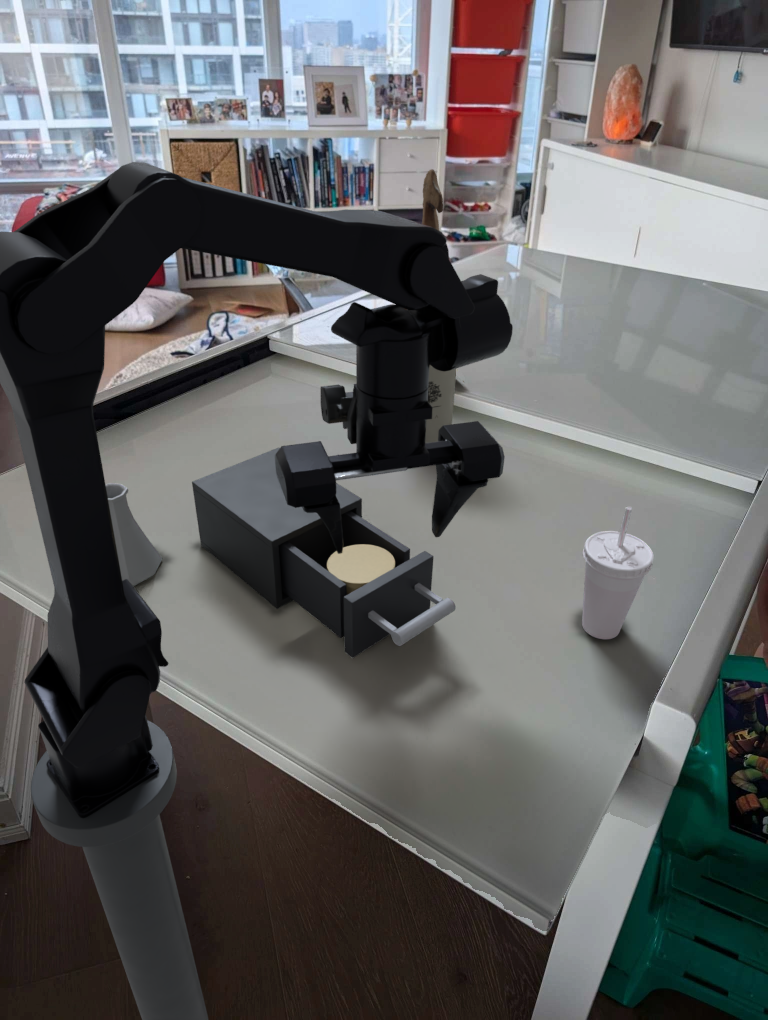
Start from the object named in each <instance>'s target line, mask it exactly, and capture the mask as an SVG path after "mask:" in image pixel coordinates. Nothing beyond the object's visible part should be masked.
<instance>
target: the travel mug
mask: <svg viewBox="0 0 768 1020" xmlns="http://www.w3.org/2000/svg"><path fill="white" fill-rule="evenodd" d="M456 369H457V368H456ZM456 369H453V370H450V371H445V372H444V371H439V370H436V369H435V368H433V367H432V366H431V365H430V366H429V384H428V402H429V404H430V405H431V406H432V407H433V409H432V419H428V420H426V438H425V443H430V442H437V441H438V432H439V429H440V428H441V427H442V426H443V425H450V424H453V419H454V418H453V417H454V404H455V391H456V378H457V377H456Z"/></svg>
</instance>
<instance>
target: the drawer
mask: <svg viewBox="0 0 768 1020" xmlns="http://www.w3.org/2000/svg"><path fill="white" fill-rule="evenodd" d="M341 521H342V532H343V548H344V547H347V546H351V545H358V544H368V545H374V546H378V547H381V548H383V549H385V550H387V551H388V552H390V553H391V554H392V556H393V557H394V559H395V568H394V569H392V570H390V571H388V572H386V573H385V574H383V575H381V576H379V577H378V578H376V579H374V580H372V581H371V582H369V583H367V584H365V585H364V586H362V587H360V588H358V589H356V590H355V591H353V592H351V593H349V594H348V595H346V584H345V583H344V582H342V581H341V580H340V579H338V578H337V577H336V576H334V575H333V574H332V573H330V572H329V571H328V570H327V561H328V559H329V557H330V556H331V555H332V554H333V553H334V552H336V551H337V550H336V548H335V545H334V543H333V541H332V538H331V536H330V533H329V531H328V528H327V527H326V525H325V524H324V523H323V524H321V525H319V526H317V527H315V528H313V529H311V530H309V531H307V532H305V533H302V534H300V535H298V536H296V537H294V538H292V539H290V540H288V541H286V542H284V543H282V544H280V545H279V557H280V571H281V585H282V592H284V593H285V594H286V595H287V596H289V597H290V598H291V599H292V600H293V602H295V604H296V603H297V605H298V606H299V607H301V608H302V609H303V610H305V611H306V612H307V613H308V614H309V615H311V616H312V617H313V618H314V619H316V620H317V621H318V622H319V623H320V624H322V625H323V626H324V627H326V628H327V629H328V630H329V631H330V632H332V633H333V634H334V635H335V636H337V637H338V638H339V639H343V648H344V649H343V650H344V653H345V654H346V655H348V657H350V658H351V659H354V658H355V657H357V656H358V655H360V654H362V653H363V652H365V651H367V650H368V649H370V648H371V647H372V646H374V645H376V644H378V643H379V642H381V641H382V640H384V639H385V638H387V637H389V636H391V640H392V642H393V643H394V644H395V645H396V646H399V647H402V646H403V645H404V644H406V643H407V642H409V641H411V640H412V639H413V638H415V637H416V636H418V635H420V634H421V633H423V632H424V631H426V630H427V629H429V628H430V627H432V626H434V625H435V624H437V623H438V622H440V621H441V620H442V619H445V618H446V617H448V616H449V615H450V614H452V613H453V612H455V611H456V608H457V607H456V604H455V601H454V600H453V599H452V598H450V597H445V598H442V597H441V596H440V595H437V594H436V593H435V592H434V591H432V586H433V585H432V584H433V572H434V571H433V570H434V555H433V554H431V553H429V552H428V551H426V550H423V551H422V552H420V553H418V554H417V555H415V556H413V557H411V548H409V547H408V546H407V545H405V544H403V543H402V542H400V541H399V540H397V539H396V538H394V537H393V536H391V535H389V534H388V533H386V532H384V531H383V530H381V528H379V527H377V526H375V525H374V524H372V523H371V522H369V521H367V520H366V519H364V518H363V517H362V518H361V517H360V516H358V515H357V514H355V513H353V512H352V511H348V512H346V513H344V514H342V515H341ZM431 602H432V603H433V604H434V605H433V606H431Z"/></svg>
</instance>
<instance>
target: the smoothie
mask: <svg viewBox="0 0 768 1020" xmlns="http://www.w3.org/2000/svg"><path fill="white" fill-rule="evenodd" d="M632 510H633V508H632V506H626V507H625V508H624V512H623V513H624V514H623V517H622V522H621V525H620V529H619V531H617V530H604V531H603V530H602V531H598V532H595V533H593V534H592V535H590V536H588V538H587V539H586V540H585V542H584V547H583V549H582V557H583V559H584V561H585V564H584V581H583V585H584V587H583V600H582V601H583V602H582V617H581V619H582V620H581V626H582V628H583V630H584V632H586V633H587V635H590V636H591V637H593V638H596V639H600V640H611V639H614V638H616V637H617V636H618V635H619V634H620V632H621V630H622V627H623V625H624V623H625V621H626V619H627V616H628V614H629V612H630V609H631V607H632V605H633V602H634V600H635V598H636V596H637V593H638V592H639V589H640V586H641V585H642V584H643V583H642V582H643V580H644V578H645V576H647V574H648V573H649V572H650V571H651V570H652V569H653V562H654V557H655V555H654V552H653V550H652V548H651V547H650V546H649V545H648V544H647V543H646V541H644V540H642V539H641V538H639V537H637V536H635V535H634V534H633V535H632V534H630V533H627V532H628V531H627V530H628V526H629V523H630V518H631V515H632Z"/></svg>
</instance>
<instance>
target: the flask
mask: <svg viewBox="0 0 768 1020" xmlns="http://www.w3.org/2000/svg"><path fill="white" fill-rule="evenodd" d="M105 485H106V491H107V496H108V502H109V508H110V514H111V519H112V525H113V531H114V537H115V542H116V548H117V554H118V560H119V565H120V571H121V577H122V581H123V580H125V579H128V580H129V582H130V583H131V584H132V586H133V587H135V586H136V585H138V584H140V583H142V582H144V581H145V580H147V579H149V578H151V577H153V576H154V575H156V573H157V570H158V569H159V566H160V565H161V563H162V560H163V557H162V556H161V554H160V553H159V551H158V550H157V549H156V547H155V546H154V545H153V543H152V542H151V541H150V539H149V538H148V537H147V535H146V534H145V532H144V531H143V530H142V528H141V526H140V524H139V523H138V522H137V521H136V519H135V517H134V515H133V513H132V510H131V509H130V506H129V502H128V499H127V494H128V493H129V488H128V487H127V486H125V485H124V484H122V483H115V482H114V483H113V482H108V483H105Z"/></svg>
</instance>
